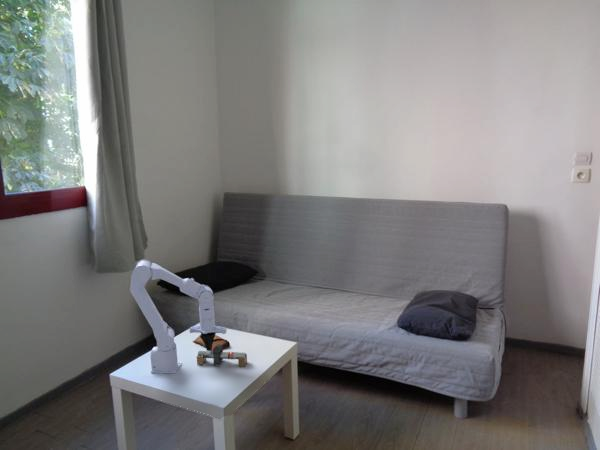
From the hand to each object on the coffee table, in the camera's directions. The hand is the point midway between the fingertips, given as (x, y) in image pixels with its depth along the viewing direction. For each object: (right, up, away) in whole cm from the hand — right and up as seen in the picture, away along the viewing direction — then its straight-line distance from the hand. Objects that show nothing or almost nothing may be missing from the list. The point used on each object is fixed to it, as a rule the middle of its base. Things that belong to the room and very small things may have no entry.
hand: (209, 349), depth 180 cm
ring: (+4, -6, 0) cm, 7 cm away
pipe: (+5, -6, 0) cm, 8 cm away
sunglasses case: (-3, -3, +19) cm, 19 cm away
